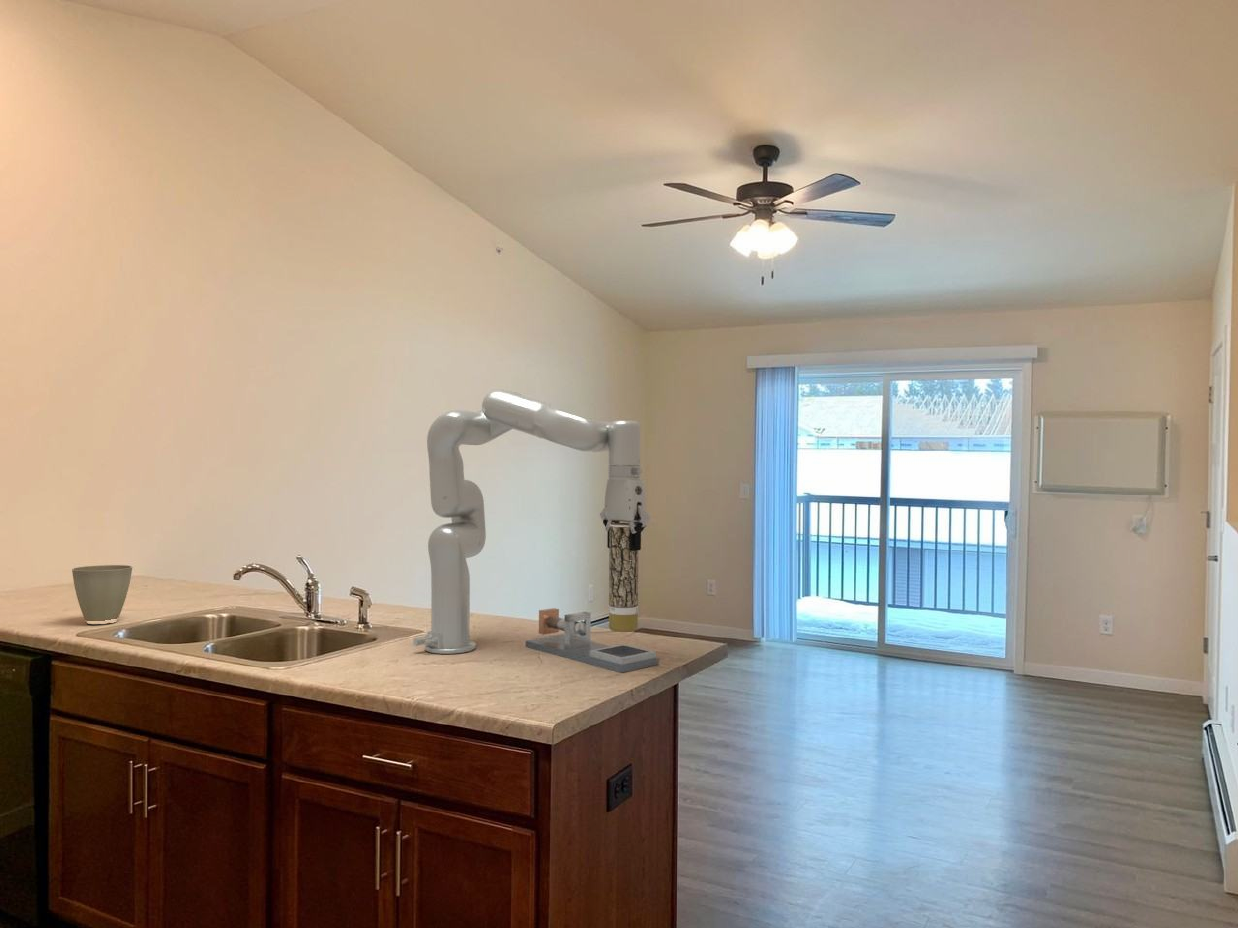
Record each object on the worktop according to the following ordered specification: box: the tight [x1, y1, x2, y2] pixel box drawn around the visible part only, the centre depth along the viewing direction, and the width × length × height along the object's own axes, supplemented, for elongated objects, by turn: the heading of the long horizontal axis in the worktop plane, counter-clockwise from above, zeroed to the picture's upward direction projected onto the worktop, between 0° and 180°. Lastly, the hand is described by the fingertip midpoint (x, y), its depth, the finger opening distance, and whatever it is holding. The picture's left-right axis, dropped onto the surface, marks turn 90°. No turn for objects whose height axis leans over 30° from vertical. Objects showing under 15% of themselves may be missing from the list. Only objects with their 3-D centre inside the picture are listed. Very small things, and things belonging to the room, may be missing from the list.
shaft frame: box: [524, 611, 660, 674], centre depth 210 cm, size 12×36×10 cm, turn 43°
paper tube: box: [608, 522, 639, 633], centre depth 201 cm, size 7×7×25 cm
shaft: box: [538, 607, 586, 636], centre depth 217 cm, size 5×14×6 cm, turn 43°
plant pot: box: [71, 564, 133, 622], centre depth 245 cm, size 15×15×16 cm
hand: (623, 548), depth 201 cm, fingers closed on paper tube, 6 cm apart
